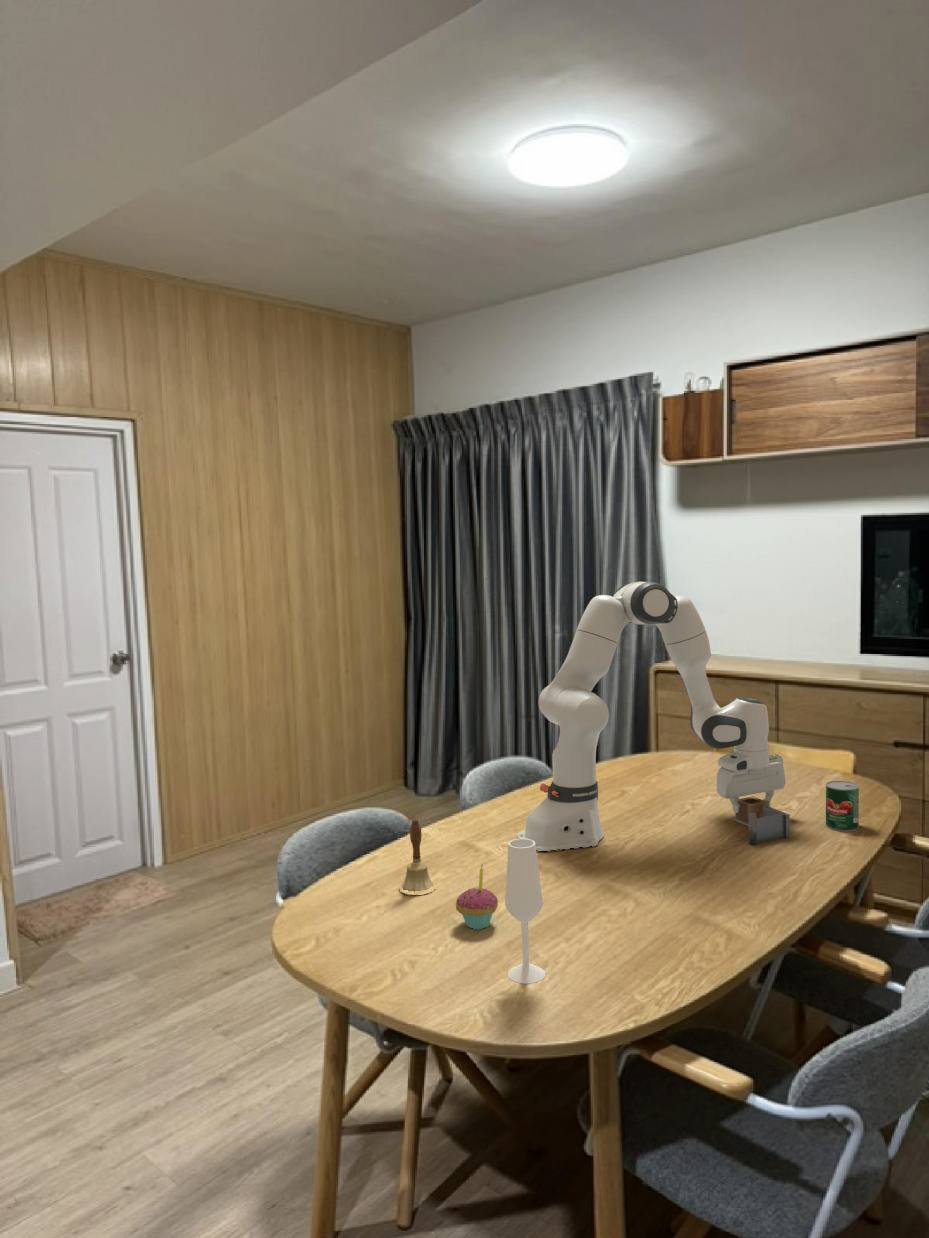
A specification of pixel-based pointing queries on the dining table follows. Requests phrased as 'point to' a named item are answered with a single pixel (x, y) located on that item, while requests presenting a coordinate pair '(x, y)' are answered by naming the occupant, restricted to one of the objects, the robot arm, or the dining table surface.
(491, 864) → the dining table surface
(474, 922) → the cupcake
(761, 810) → the brown hollow square block
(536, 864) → the champagne flute
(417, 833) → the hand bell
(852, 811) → the canned tomato
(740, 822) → the mat
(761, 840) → the bent rail
